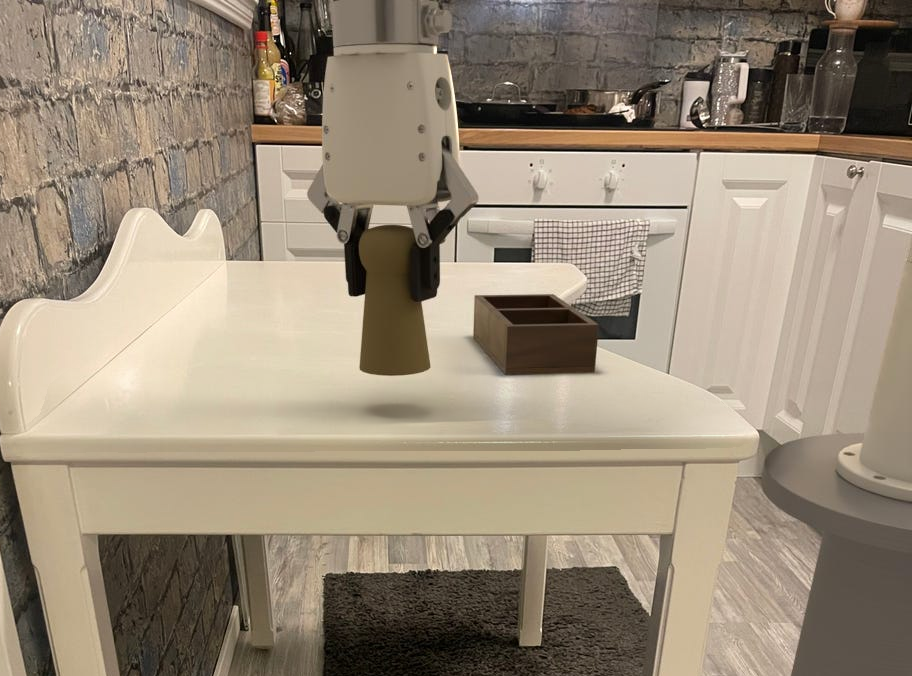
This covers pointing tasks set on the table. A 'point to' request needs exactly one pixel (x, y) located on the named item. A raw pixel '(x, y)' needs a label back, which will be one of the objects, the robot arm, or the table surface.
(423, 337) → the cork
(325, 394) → the table surface
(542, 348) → the divided wooden box
